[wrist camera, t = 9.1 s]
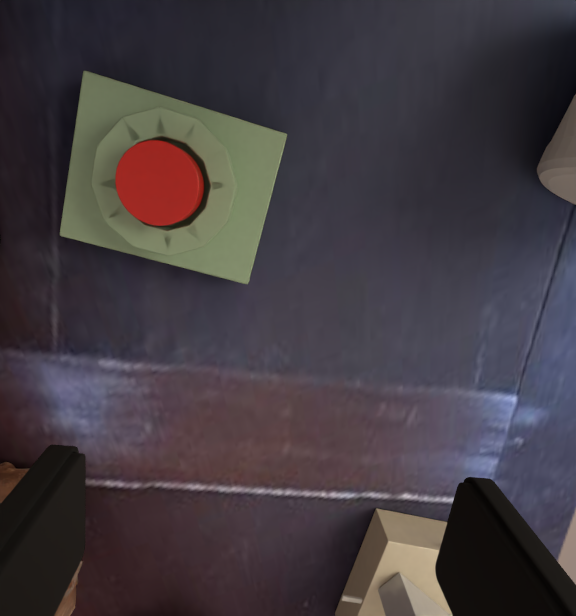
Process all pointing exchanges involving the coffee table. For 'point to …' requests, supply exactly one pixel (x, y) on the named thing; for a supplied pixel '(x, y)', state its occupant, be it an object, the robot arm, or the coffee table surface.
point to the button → (159, 183)
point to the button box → (207, 154)
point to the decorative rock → (3, 481)
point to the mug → (561, 158)
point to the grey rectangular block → (407, 599)
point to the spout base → (393, 561)
